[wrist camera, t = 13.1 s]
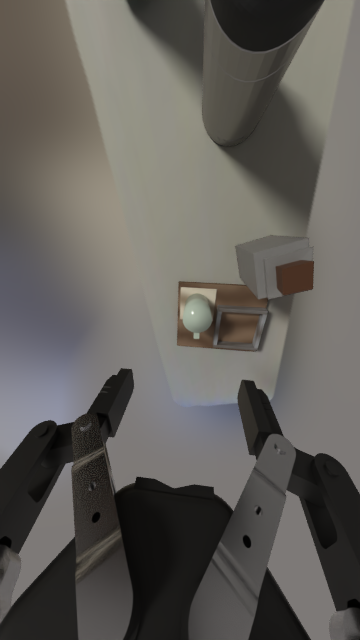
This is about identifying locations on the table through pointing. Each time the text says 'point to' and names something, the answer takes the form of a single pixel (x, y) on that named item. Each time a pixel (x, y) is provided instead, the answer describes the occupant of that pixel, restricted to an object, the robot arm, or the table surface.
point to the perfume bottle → (276, 265)
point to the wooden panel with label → (224, 317)
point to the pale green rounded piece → (197, 314)
